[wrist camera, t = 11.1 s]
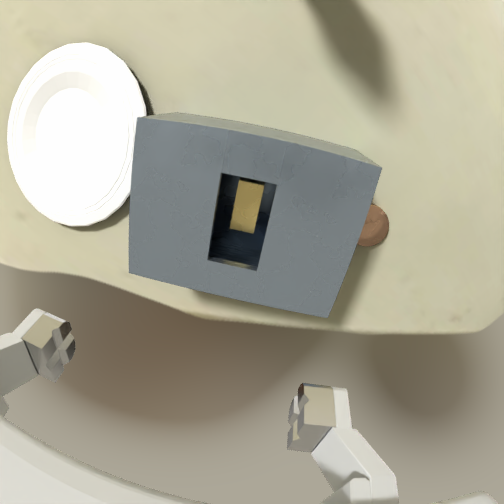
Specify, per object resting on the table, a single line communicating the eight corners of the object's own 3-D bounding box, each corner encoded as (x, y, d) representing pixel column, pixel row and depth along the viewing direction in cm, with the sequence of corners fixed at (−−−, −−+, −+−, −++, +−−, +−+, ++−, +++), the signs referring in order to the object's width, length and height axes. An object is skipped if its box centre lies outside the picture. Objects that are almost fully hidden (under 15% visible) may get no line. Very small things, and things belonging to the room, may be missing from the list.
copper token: (391, 208, 34) (394, 211, 33) (379, 245, 36) (381, 249, 35) (352, 198, 34) (354, 202, 33) (342, 237, 36) (343, 242, 35)
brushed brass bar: (267, 174, 33) (264, 185, 28) (257, 216, 35) (253, 233, 31) (245, 169, 33) (239, 180, 28) (237, 211, 35) (229, 228, 31)
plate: (153, 231, 38) (148, 237, 37) (22, 215, 39) (15, 219, 38) (162, 32, 27) (156, 28, 25) (16, 62, 28) (8, 62, 26)
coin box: (355, 149, 31) (382, 167, 22) (319, 267, 38) (327, 318, 29) (176, 112, 31) (137, 117, 22) (163, 232, 38) (129, 272, 29)
